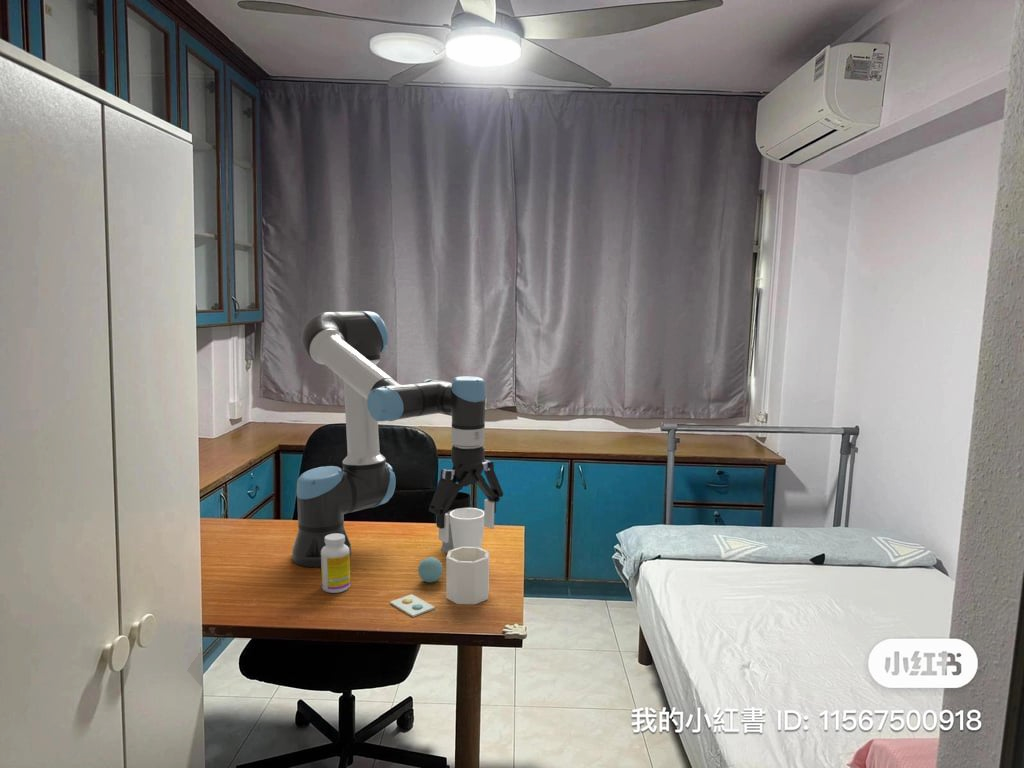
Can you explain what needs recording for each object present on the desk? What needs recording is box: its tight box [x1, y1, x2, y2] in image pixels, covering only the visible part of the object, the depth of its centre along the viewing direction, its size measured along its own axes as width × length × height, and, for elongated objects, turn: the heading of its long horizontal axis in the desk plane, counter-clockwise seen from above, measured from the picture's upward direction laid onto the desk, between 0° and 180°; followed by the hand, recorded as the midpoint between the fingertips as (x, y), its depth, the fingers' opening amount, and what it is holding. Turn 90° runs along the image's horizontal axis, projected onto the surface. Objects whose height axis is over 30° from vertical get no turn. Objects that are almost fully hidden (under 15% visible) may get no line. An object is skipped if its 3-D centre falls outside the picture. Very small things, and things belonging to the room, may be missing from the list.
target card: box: [389, 593, 436, 618], centre depth 161 cm, size 9×6×1 cm, turn 43°
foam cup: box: [450, 507, 485, 549], centre depth 186 cm, size 10×9×13 cm
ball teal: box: [417, 556, 444, 583], centre depth 174 cm, size 6×6×6 cm
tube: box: [445, 547, 490, 605], centre depth 166 cm, size 10×10×10 cm
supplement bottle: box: [320, 533, 351, 594], centre depth 169 cm, size 7×7×13 cm
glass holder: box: [440, 491, 471, 554], centre depth 197 cm, size 9×14×15 cm, turn 7°
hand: (466, 534), depth 165 cm, fingers open, 13 cm apart
